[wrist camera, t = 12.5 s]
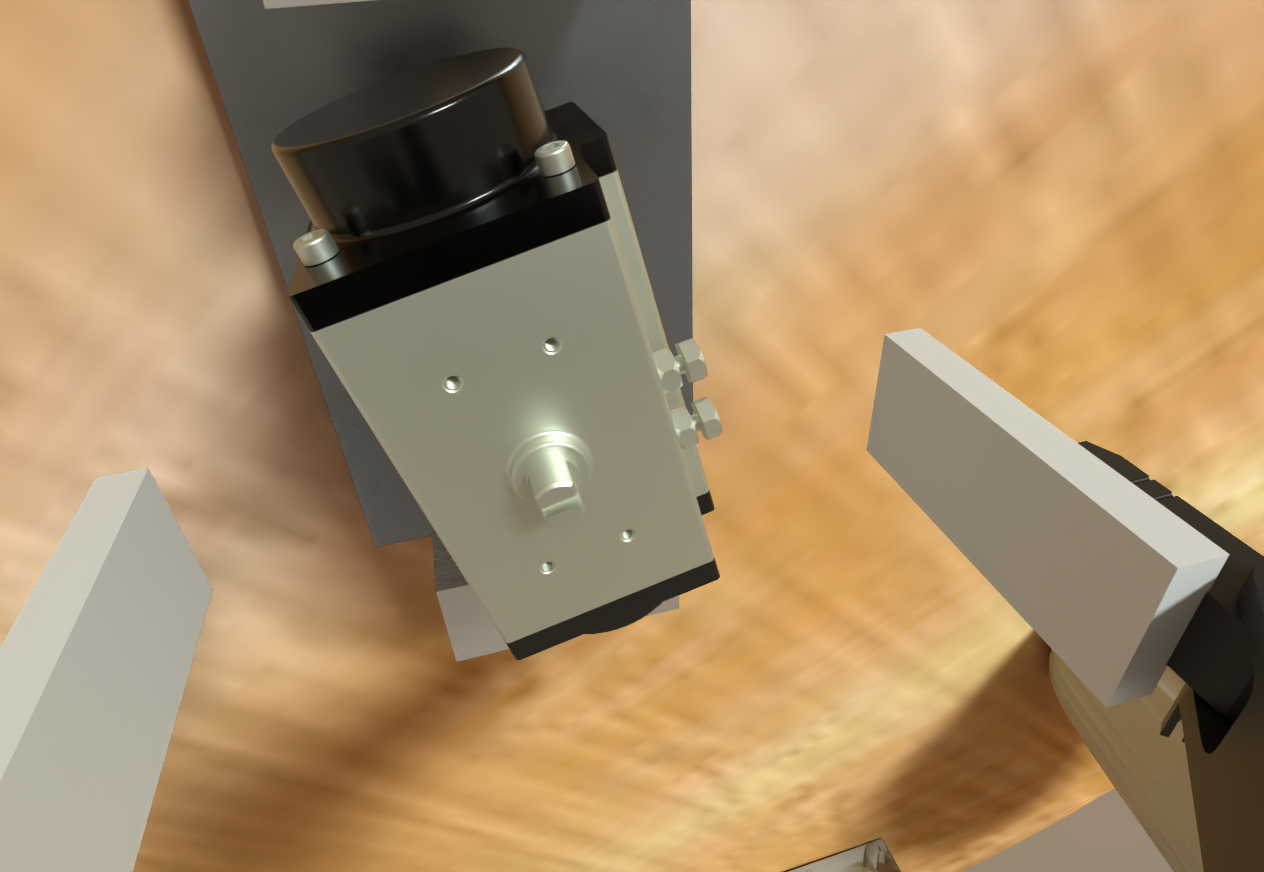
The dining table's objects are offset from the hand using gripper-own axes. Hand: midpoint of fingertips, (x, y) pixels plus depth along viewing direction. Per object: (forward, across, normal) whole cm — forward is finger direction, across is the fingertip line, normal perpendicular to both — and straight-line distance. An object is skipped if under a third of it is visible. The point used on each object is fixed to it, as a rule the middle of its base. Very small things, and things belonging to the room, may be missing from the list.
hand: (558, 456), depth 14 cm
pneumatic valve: (+10, 0, 0) cm, 11 cm away
